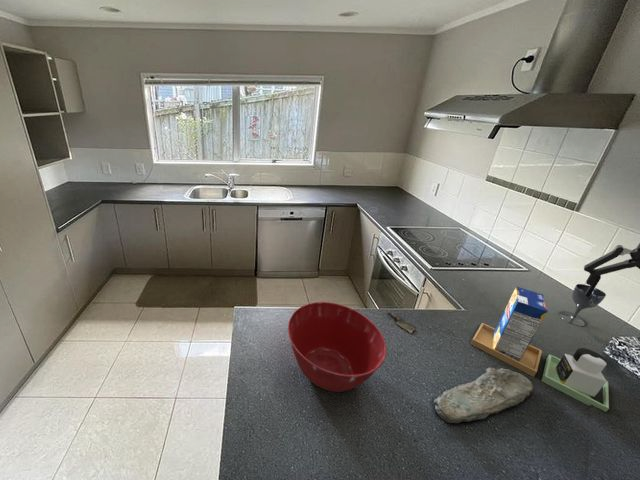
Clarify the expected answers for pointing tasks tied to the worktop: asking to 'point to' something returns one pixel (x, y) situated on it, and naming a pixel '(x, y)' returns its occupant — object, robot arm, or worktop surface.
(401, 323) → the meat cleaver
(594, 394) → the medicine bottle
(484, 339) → the oak tray
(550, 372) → the green tray
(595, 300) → the wine glass
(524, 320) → the beverage box
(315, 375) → the mixing bowl
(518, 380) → the long grey stone
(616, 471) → the worktop surface
